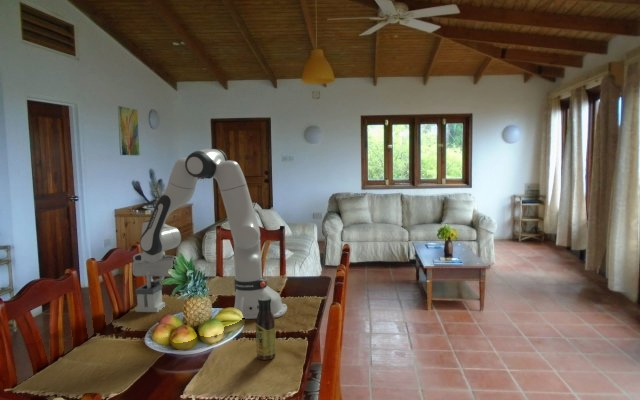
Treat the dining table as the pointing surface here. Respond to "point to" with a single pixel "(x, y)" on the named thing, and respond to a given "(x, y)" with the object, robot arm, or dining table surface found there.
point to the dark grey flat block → (154, 288)
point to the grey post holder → (149, 299)
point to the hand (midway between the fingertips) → (156, 285)
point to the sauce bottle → (265, 330)
